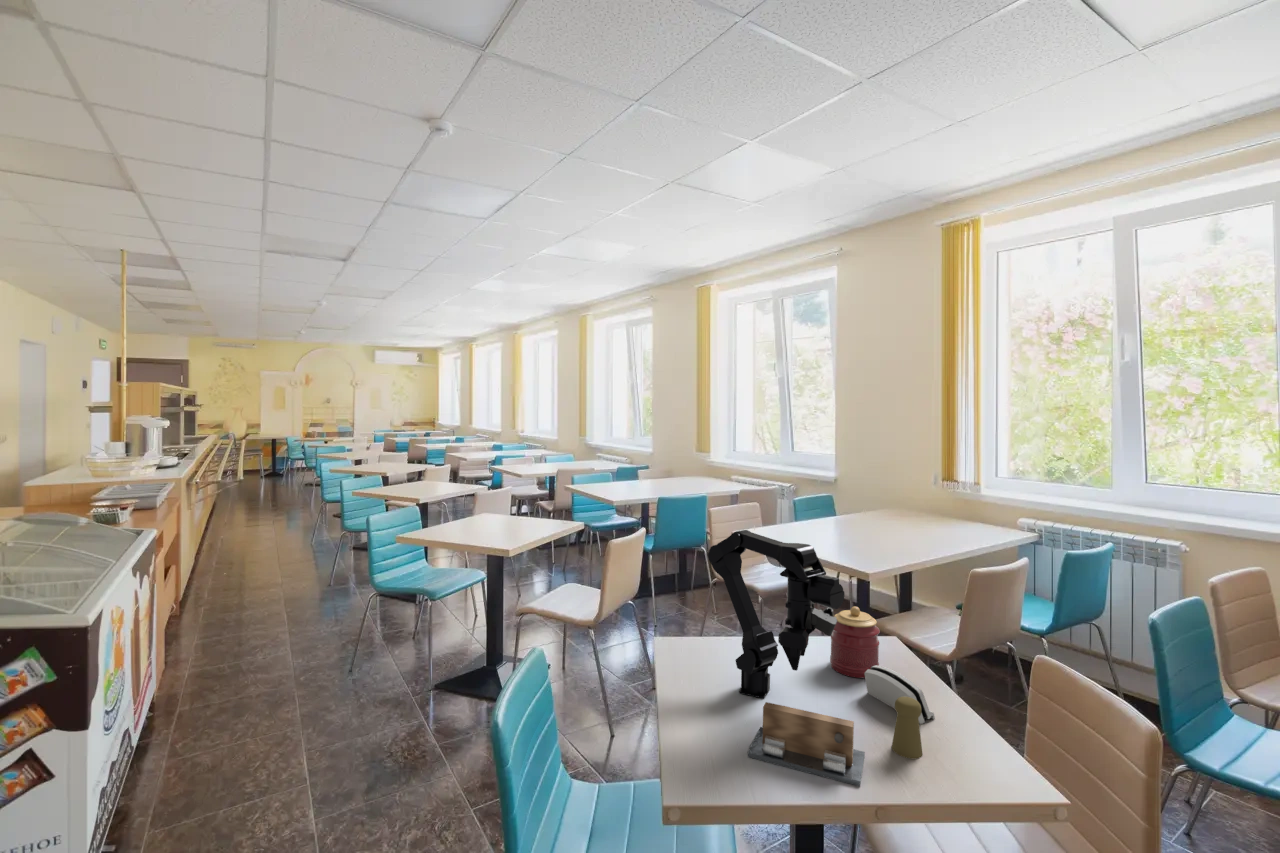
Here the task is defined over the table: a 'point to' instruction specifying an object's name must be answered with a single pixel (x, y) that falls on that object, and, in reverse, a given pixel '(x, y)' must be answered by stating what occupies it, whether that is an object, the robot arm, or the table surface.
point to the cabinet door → (808, 731)
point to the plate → (808, 760)
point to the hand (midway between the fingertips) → (798, 662)
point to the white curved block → (894, 689)
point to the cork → (907, 728)
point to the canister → (854, 643)
